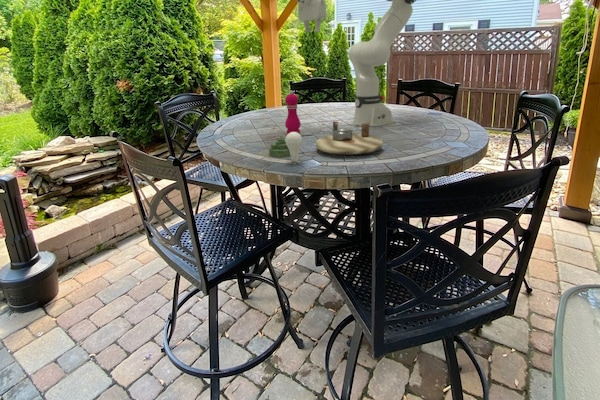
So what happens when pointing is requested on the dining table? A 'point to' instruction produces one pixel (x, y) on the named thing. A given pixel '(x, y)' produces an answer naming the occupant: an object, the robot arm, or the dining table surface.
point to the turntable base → (348, 154)
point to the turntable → (351, 143)
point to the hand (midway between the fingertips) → (312, 32)
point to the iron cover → (342, 135)
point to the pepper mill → (292, 114)
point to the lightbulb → (293, 144)
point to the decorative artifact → (279, 148)
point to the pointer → (335, 125)
